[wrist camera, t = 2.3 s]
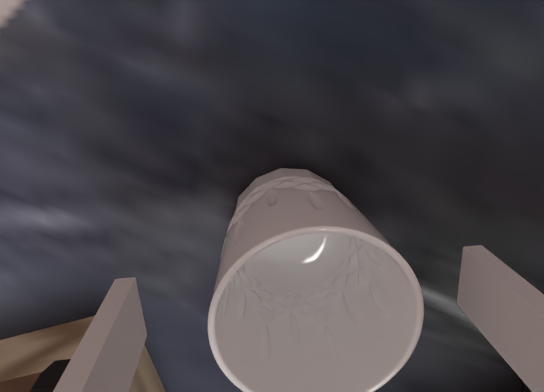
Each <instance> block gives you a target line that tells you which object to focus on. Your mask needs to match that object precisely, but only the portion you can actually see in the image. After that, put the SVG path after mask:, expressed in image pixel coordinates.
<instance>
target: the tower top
mask: <svg viewBox="0 0 544 392" xmlns="http://www.w3.org/2000/svg"><path fill="white" fill-rule="evenodd" d="M41 373H42V372H39V373H35V374H31V375H27V376H23V377H18V378H14V379H10V380H6V381H2V382H0V392H29V391H31V388H32V386H33V385H34V383H35V381H36V380H37V378H38V377H39V375H40V374H41Z"/></svg>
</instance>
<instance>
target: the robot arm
mask: <svg viewBox="0 0 544 392" xmlns="http://www.w3.org/2000/svg"><path fill="white" fill-rule="evenodd" d="M457 305H458V306H459V308H460V309H461V310H462V311H463V312H464V313H465V315H466V316H467V317H468V318H469V319H470V320H471V322H472V323H473V324H474V325H475V326H476V327H477V328H478V330H479V331H480V332H481V333H482V334H483V335H484V337H485V338H486V339H487V340H488V341H489V342H490V344H491V345H492V346H493V347H494V348H495V349H496V351H497V352H498V353H499V354H500V355H501V356H502V358H503V359H504V360H505V361H506V362H507V363H508V364H509V366H510V367H511V368H512V369H513V370H514V371H515V373H516V374H517V375H518V376H519V377H520V378H521V380H522V381H523V382H524V383H523V392H544V294H542V293H541V292H540V291H539V290H537V289H536V288H535V287H534V286H532V285H531V284H530V283H529V282H527V281H526V280H525V279H524V278H522V277H521V276H520V275H519V274H517V273H516V272H515V271H514V270H512V269H511V268H510V267H508V266H507V265H506V264H505V263H503V262H502V261H501V260H500V259H498V258H497V257H496V256H495V255H493V254H492V253H491V252H490V251H488V250H487V249H486V248H485V247H483V246H482V245H477V246H467V247H463V253H462V262H461V271H460V279H459V288H458V296H457ZM146 338H147V331H146V327H145V322H144V317H143V312H142V307H141V303H140V298H139V293H138V288H137V283H136V279H135V277H133V278H122V279H115V280H114V282H113V284H112V286H111V288H110V290H109V291H108V293H107V295H106V297H105V299H104V300H103V302H102V304H101V306H100V308H99V309H98V311H97V313H96V315H95V317H94V318H93V320H92V322H91V324H90V326H89V327H88V329H87V331H86V333H85V335H84V337H83V338H82V340H81V342H80V344H79V346H78V347H77V349H76V351H75V353H74V355H73V356H72V358H71V359H65V360H55V361H54V362H53V363H52V364H50V365H49V366H48V367H47V368H46V369H45V370H44V371H43V372H42V373H41V374H40V375H39V377H38V378H37V380H36V381H35V383H34V385H33V386H32V388H31V391H29V392H129V389H130V386H131V383H132V380H133V377H134V374H135V371H136V368H137V365H138V362H139V359H140V356H141V353H142V350H143V347H144V344H145V341H146Z"/></svg>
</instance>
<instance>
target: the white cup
mask: <svg viewBox="0 0 544 392" xmlns="http://www.w3.org/2000/svg"><path fill="white" fill-rule="evenodd" d="M423 319H424V302H423V296H422V291H421V288H420V285H419V282H418V280H417V278H416V276H415V274H414V272H413V270H412V269H411V267H410V266H409V264H408V263H407V262H406V260H405V259H404V258H403V257H402V256H401V255H400V254H399V253H398V252H397V251H396V250H395V249H394V247H393V246H392V245H391V244H390V243H389V242H388V241H387V240H386V239H385V238H384V237H383V236H382V234H381V233H380V232H379V231H378V230H377V229H376V228H375V227H374V226H373V225H372V223H371V222H370V221H369V220H368V219H367V218H366V217H365V216H364V215H363V214H362V213H361V212H360V211H359V210H358V209H357V208H356V207H355V206H354V205H353V204H352V203H351V202H350V201H349V200H348V199H347V198H346V197H345V196H344V195H342V194H341V193H340V192H339V191H337V190H336V189H335V188H334V186H333V185H332V184H331V183H330V182H329V181H327V180H325V179H323V178H322V177H320V176H318V175H316V174H314V173H313V172H311V171H309V170H307V169H289V168H280V169H277V170H275V171H272V172H270V173H267V174H265V175H262V176H260V177H257V178H256V179H255V180H254V181H253V182H252V183H251V184H250V185H249V186H248V187H247V188H246V189H245V190H244V192H243V193H242V194H241V195H240V196H239V197H238V200H237V204H236V207H235V211H234V214H233V218H232V219H231V221H230V223H229V226H228V230H227V234H226V236H225V241H224V245H223V249H222V254H221V259H220V263H219V268H218V273H217V277H216V282H215V286H214V291H213V295H212V300H211V304H210V309H209V314H208V337H209V342H210V346H211V350H212V353H213V355H214V357H215V360H216V362H217V363H218V365H219V367H220V368H221V370H222V371H223V373H224V374H225V375H226V376H227V377H228V379H229V380H230V381H231V382H232V383H233V384H235V385H236V386H237V387H238V388H239V389H241V390H242V391H243V392H374V391H376V390H377V389H379V388H380V387H382V386H383V385H384V384H386V383H387V382H388V381H389V380H390V379H391V378H393V377H394V376H395V375H396V374H397V373H398V372H399V370H400V369H401V368H402V367H403V366H404V364H405V363H406V362H407V360H408V359H409V357H410V356H411V354H412V352H413V351H414V349H415V347H416V345H417V342H418V340H419V337H420V334H421V330H422V326H423Z"/></svg>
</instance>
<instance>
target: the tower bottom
mask: <svg viewBox="0 0 544 392" xmlns="http://www.w3.org/2000/svg"><path fill="white" fill-rule="evenodd" d="M94 317H95V316H92V317H88V318H84V319H80V320H76V321H72V322H69V323H65V324H61V325H57V326H53V327H49V328H45V329H41V330H38V331H34V332H30V333H26V334H22V335H18V336H14V337H11V338H7V339H3V340H0V382H2V381H6V380H10V379H14V378H18V377H23V376H27V375H31V374H35V373H39V372H43V371H44V370H45V369H46V368H47V367H48V366H49V365H50V364H52V363H53V362H54V361H55V360H65V359H71V358H72V356H73V355H74V353H75V351H76V349H77V347H78V346H79V344H80V342H81V340H82V338H83V337H84V335H85V333H86V331H87V329H88V327H89V326H90V324H91V322H92V320H93V318H94ZM129 392H165V389H164V387H163V385H162V383H161V380H160V378H159V376H158V374H157V371H156V369H155V367H154V365H153V362H152V360H151V358H150V356H149V354H148V351H147V349H146V347H145V345H144V347H143V350H142V353H141V356H140V359H139V362H138V365H137V368H136V371H135V374H134V377H133V380H132V383H131V386H130V389H129Z"/></svg>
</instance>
